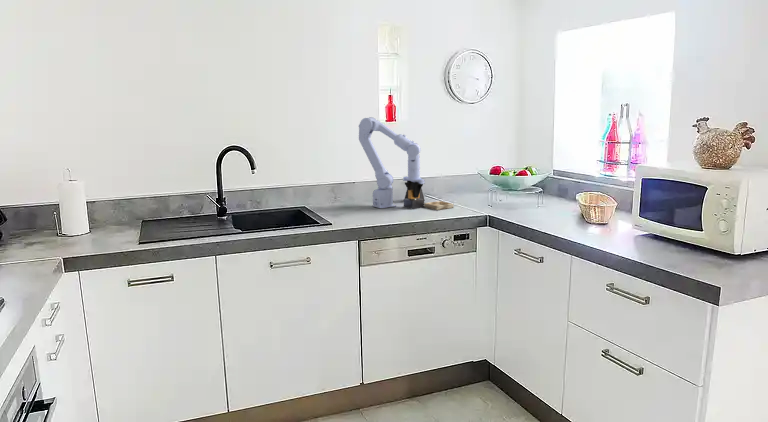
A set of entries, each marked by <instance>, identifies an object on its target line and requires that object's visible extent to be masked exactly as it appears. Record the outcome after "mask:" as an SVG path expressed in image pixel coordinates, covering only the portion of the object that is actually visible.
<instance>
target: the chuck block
mask: <svg viewBox="0 0 768 422" xmlns="http://www.w3.org/2000/svg"><path fill="white" fill-rule="evenodd" d="M424 200H425V198H424V199H420V198H416V200H412V199H409V198H407V199H403V208H405V209H409V210H416V209H423V208H425V207H424V203H425V201H424Z"/></svg>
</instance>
